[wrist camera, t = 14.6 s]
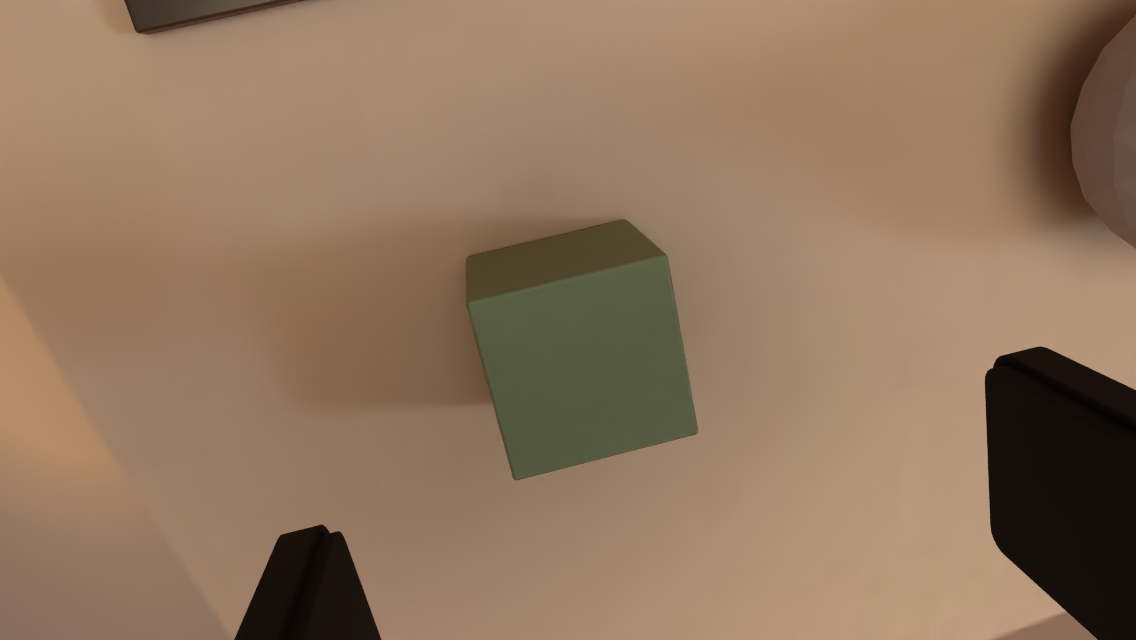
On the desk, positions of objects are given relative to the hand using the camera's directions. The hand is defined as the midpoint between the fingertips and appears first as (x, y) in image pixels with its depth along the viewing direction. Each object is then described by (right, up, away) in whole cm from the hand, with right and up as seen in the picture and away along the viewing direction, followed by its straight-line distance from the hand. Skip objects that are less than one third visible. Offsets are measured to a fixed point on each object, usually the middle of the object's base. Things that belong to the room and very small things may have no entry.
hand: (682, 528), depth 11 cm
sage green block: (-2, +3, +10) cm, 11 cm away
